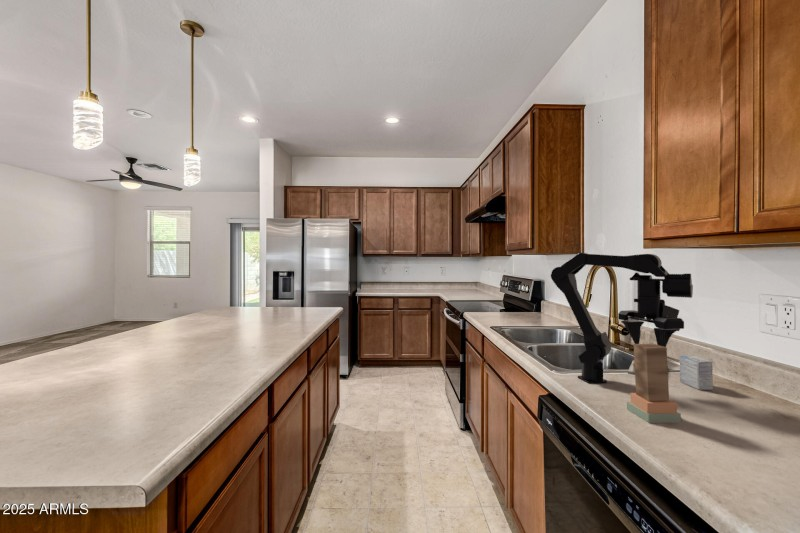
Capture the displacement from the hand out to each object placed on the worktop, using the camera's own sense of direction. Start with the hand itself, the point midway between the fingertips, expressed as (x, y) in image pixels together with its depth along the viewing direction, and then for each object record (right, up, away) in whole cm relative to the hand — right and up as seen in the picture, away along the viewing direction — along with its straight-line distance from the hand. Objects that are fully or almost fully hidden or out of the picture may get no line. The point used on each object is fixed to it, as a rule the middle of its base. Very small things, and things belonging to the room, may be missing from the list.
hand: (648, 347), depth 111 cm
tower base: (-11, -14, -17) cm, 25 cm away
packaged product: (+14, -13, +22) cm, 29 cm away
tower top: (-11, -11, -17) cm, 23 cm away
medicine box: (+18, -13, +4) cm, 22 cm away
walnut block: (-11, -9, -17) cm, 22 cm away
